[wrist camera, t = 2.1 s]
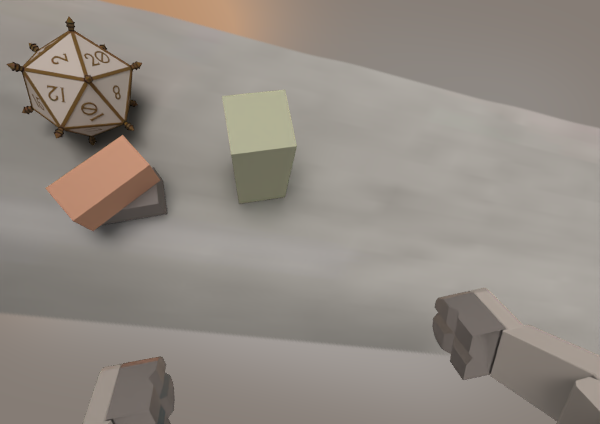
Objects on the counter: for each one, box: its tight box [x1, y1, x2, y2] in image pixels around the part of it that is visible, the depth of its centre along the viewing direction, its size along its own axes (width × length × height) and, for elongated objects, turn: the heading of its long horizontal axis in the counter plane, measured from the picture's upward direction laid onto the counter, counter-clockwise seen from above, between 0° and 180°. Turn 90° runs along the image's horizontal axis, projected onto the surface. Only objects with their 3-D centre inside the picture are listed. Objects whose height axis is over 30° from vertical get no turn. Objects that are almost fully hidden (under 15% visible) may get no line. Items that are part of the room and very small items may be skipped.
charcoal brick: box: [102, 167, 167, 225], centre depth 29 cm, size 6×3×3 cm, turn 103°
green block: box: [222, 90, 297, 204], centre depth 27 cm, size 4×4×10 cm
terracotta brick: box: [46, 135, 160, 231], centre depth 26 cm, size 6×3×3 cm, turn 133°
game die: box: [7, 17, 142, 145], centre depth 28 cm, size 9×8×10 cm
